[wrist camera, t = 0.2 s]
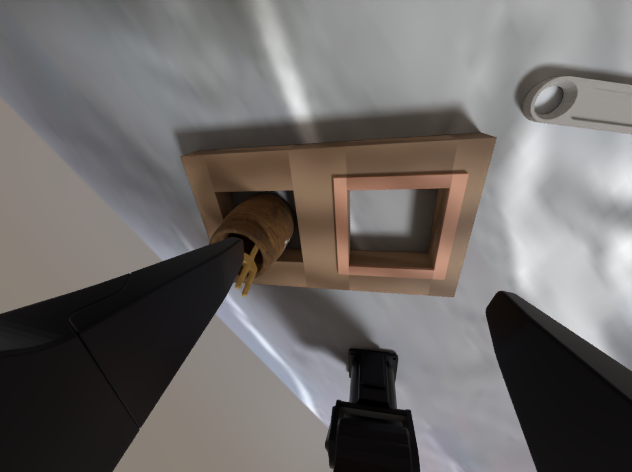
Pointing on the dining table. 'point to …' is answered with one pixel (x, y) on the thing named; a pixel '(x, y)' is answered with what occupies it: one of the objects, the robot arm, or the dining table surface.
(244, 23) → the dining table surface
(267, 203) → the utensil holder
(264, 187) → the double window frame
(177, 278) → the robot arm
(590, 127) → the adjustable wrench
